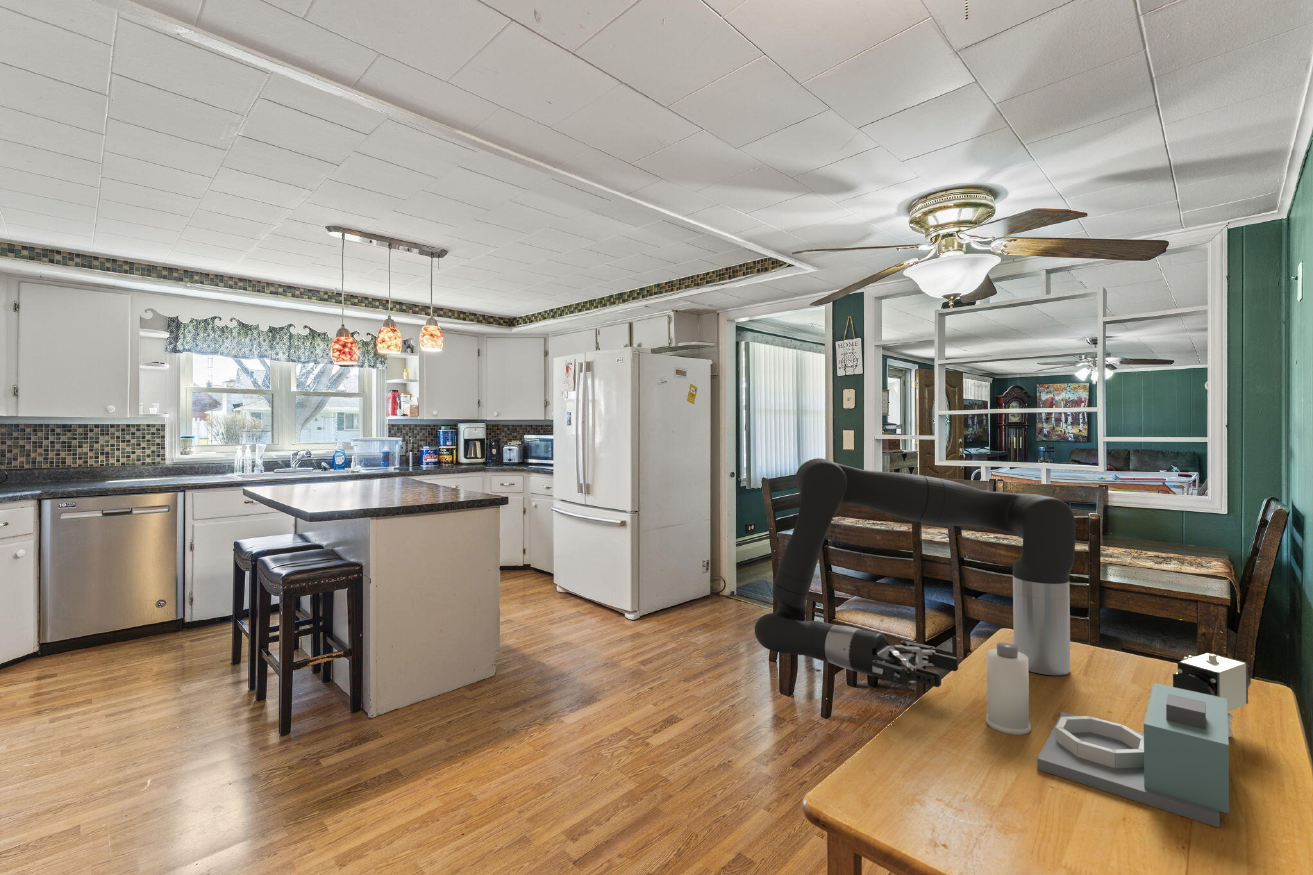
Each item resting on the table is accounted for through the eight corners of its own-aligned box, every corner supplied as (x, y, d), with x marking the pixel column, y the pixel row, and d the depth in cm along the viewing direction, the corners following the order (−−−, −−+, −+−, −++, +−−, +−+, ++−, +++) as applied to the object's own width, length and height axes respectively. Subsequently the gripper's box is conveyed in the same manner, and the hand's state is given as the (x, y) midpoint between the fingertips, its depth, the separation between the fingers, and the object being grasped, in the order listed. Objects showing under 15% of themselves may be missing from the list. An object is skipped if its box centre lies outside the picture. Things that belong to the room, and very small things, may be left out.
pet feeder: (1062, 719, 94) (1062, 647, 94) (1227, 763, 82) (1226, 679, 81) (1037, 769, 81) (1036, 684, 81) (1229, 831, 68) (1228, 730, 68)
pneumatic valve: (1253, 733, 90) (1252, 653, 89) (1212, 751, 85) (1212, 667, 85) (1206, 717, 95) (1206, 642, 95) (1166, 733, 90) (1165, 654, 90)
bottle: (991, 712, 97) (991, 636, 97) (1034, 724, 93) (1033, 644, 93) (981, 726, 93) (980, 646, 93) (1025, 739, 89) (1024, 655, 89)
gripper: (837, 639, 105) (934, 662, 94) (872, 619, 115) (962, 638, 104) (838, 681, 105) (935, 709, 94) (872, 658, 115) (963, 681, 104)
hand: (949, 672), depth 99 cm, fingers open, 8 cm apart
